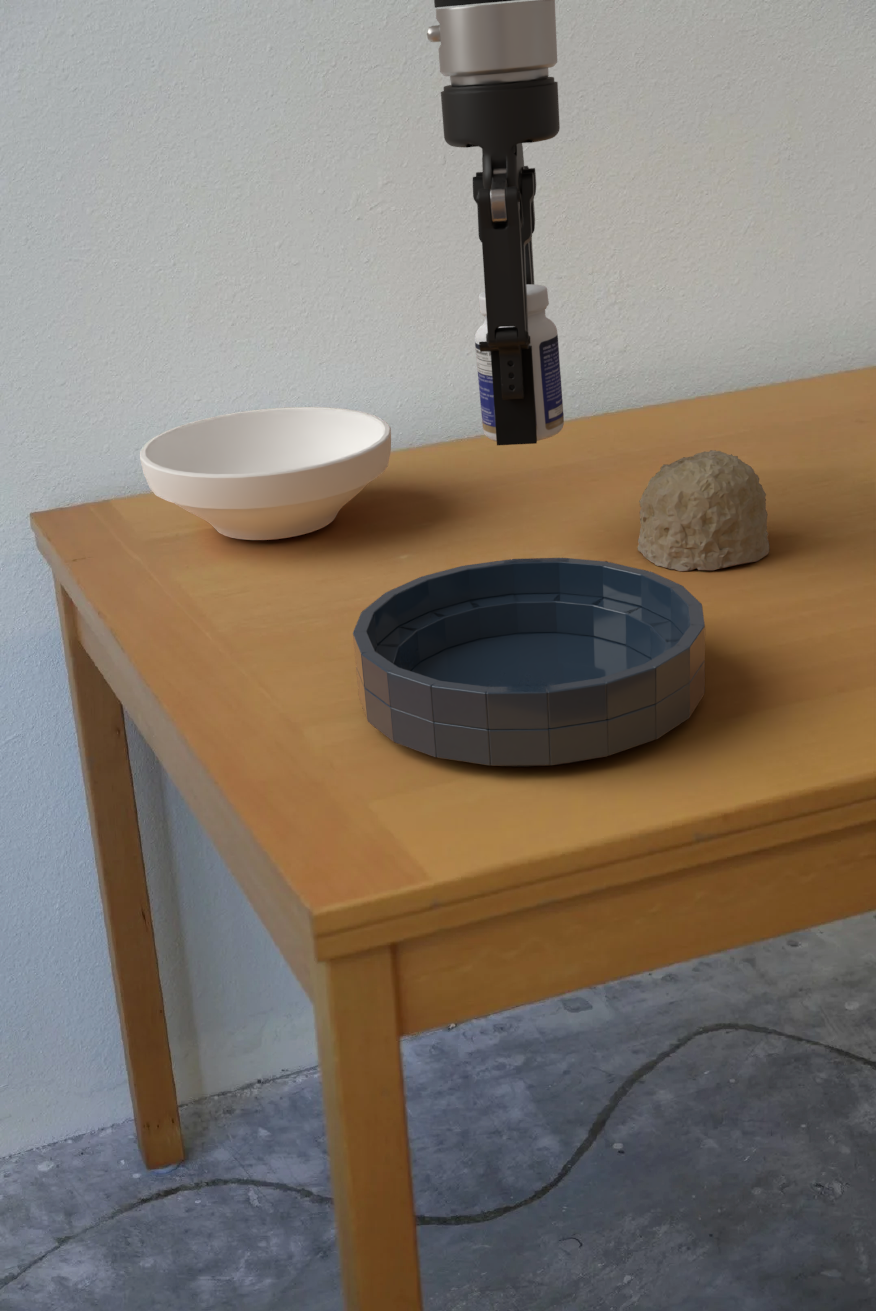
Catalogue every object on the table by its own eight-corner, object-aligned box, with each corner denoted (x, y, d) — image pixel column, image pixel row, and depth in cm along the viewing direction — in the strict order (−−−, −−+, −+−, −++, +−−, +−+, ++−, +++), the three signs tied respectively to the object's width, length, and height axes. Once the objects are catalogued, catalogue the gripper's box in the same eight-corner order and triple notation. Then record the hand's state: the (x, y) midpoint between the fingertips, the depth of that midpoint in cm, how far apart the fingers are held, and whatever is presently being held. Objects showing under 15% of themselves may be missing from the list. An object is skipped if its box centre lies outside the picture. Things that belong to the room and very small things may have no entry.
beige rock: (638, 610, 107) (632, 529, 98) (639, 503, 112) (634, 417, 103) (769, 608, 105) (775, 525, 97) (765, 500, 110) (770, 412, 102)
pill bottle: (536, 418, 107) (527, 278, 103) (580, 433, 102) (572, 287, 99) (468, 434, 105) (455, 292, 101) (509, 450, 100) (497, 302, 96)
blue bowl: (695, 628, 93) (695, 553, 91) (713, 778, 75) (713, 689, 73) (388, 634, 96) (381, 561, 94) (335, 780, 78) (326, 695, 76)
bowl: (137, 510, 124) (124, 427, 121) (361, 475, 129) (354, 394, 126) (172, 586, 107) (158, 491, 104) (430, 541, 112) (423, 450, 109)
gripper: (454, 74, 103) (478, 399, 113) (422, 90, 86) (453, 472, 96) (562, 65, 102) (576, 394, 112) (551, 80, 85) (569, 466, 95)
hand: (519, 429), depth 104 cm, fingers closed on pill bottle, 6 cm apart
